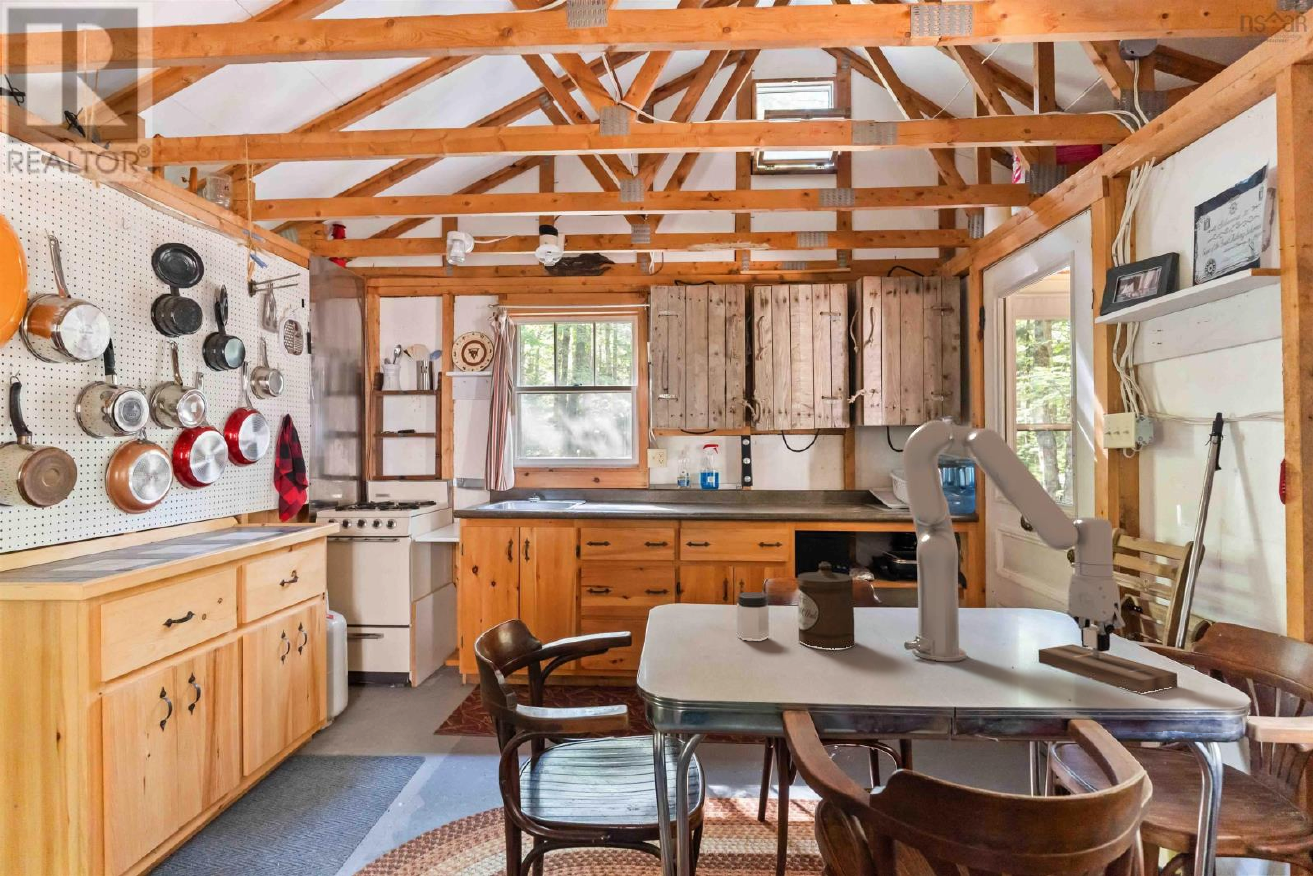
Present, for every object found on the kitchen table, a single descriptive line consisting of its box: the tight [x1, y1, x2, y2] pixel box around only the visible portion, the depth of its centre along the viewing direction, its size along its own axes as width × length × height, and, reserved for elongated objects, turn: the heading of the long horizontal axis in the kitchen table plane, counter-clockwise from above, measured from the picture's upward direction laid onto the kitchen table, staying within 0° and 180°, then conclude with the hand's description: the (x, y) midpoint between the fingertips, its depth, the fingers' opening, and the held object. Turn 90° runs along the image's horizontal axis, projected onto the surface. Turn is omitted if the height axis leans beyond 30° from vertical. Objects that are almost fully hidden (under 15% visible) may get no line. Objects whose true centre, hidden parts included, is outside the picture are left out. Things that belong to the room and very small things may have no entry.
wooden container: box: [797, 561, 855, 649], centre depth 179 cm, size 15×15×22 cm
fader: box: [1083, 626, 1100, 658], centre depth 155 cm, size 4×3×7 cm
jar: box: [736, 591, 770, 639], centre depth 185 cm, size 9×8×12 cm
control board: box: [1038, 644, 1178, 693], centre depth 153 cm, size 12×24×3 cm, turn 22°
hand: (1095, 648), depth 155 cm, fingers closed on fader, 3 cm apart
